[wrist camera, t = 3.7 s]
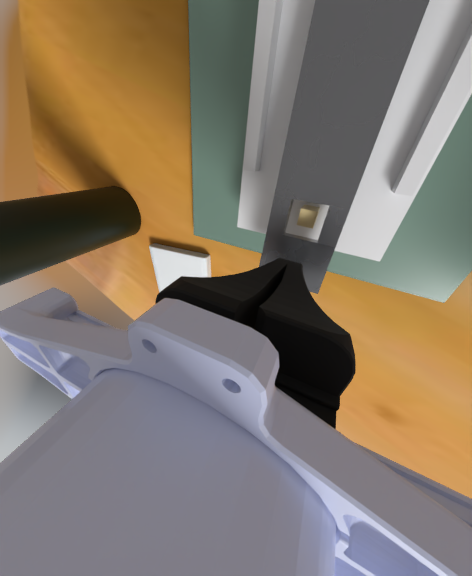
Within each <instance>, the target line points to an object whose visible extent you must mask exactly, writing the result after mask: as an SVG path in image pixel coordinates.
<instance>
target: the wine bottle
mask: <svg viewBox="0 0 472 576" xmlns="http://www.w3.org/2000/svg"><path fill="white" fill-rule="evenodd" d="M140 225H141V218H140V213H139V210H138V207H137V205H136V203H135V202H134V200H133V199H132V197H131V196H130V195H129V194H128V193H127V192H126V191H125V190H123V189H122V188H119V187H116V186H112V187H105V188H97V189H90V190H83V191H76V192H69V193H62V194H55V195H47V196H40V197H33V198H26V199H19V200H12V201H5V202H0V285H3V284H5V283H8V282H11V281H13V280H16V279H18V278H21V277H24V276H26V275H29V274H32V273H34V272H37V271H40V270H42V269H45V268H47V267H50V266H53V265H55V264H58V263H60V262H63V261H66V260H68V259H71V258H74V257H76V256H79V255H82V254H84V253H87V252H90V251H92V250H95V249H97V248H100V247H103V246H105V245H108V244H111V243H113V242H116V241H118V240H121V239H124V238H126V237H129V236H132V235H134V234H136V233H137V232H138V231H139V229H140Z"/></svg>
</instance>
